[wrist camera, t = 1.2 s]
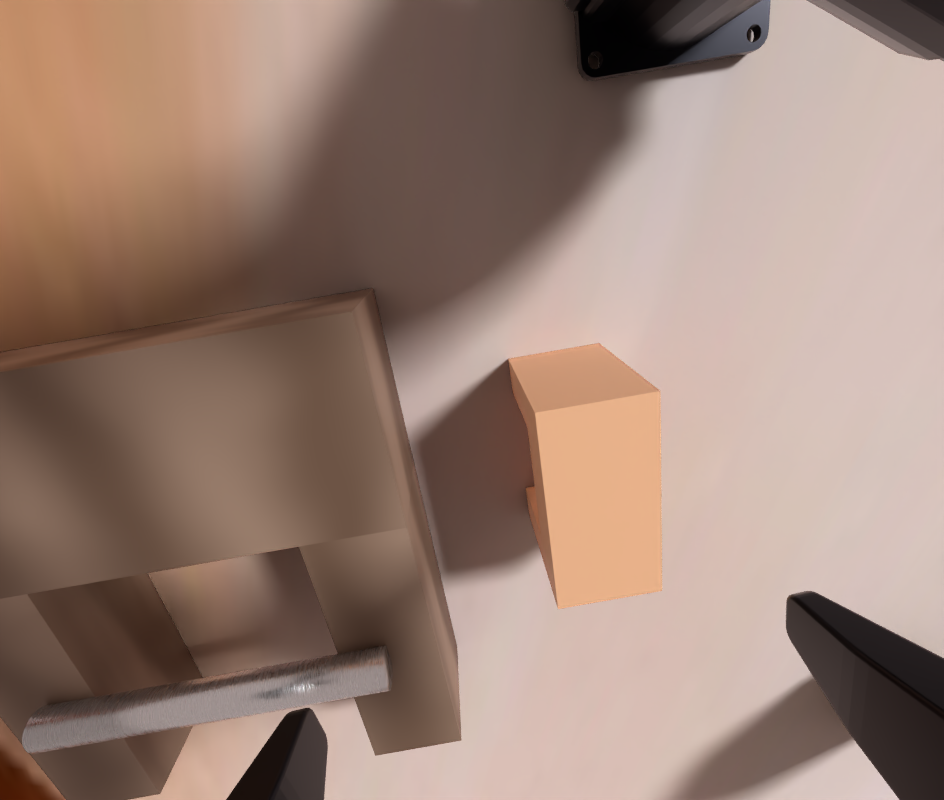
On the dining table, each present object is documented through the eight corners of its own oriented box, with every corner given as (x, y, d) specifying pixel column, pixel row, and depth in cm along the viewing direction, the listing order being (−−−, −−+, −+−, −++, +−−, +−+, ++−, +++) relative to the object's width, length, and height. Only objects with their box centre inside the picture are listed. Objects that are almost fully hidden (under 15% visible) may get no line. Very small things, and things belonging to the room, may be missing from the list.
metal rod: (385, 636, 19) (381, 671, 18) (394, 663, 20) (390, 700, 18) (47, 696, 19) (14, 736, 18) (65, 722, 20) (35, 763, 18)
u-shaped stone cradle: (372, 288, 19) (351, 311, 14) (457, 647, 26) (461, 740, 22) (-73, 364, 19) (-242, 414, 14) (138, 703, 26) (73, 809, 21)
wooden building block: (599, 342, 20) (660, 391, 15) (608, 501, 23) (661, 590, 18) (508, 359, 20) (535, 412, 15) (529, 515, 23) (558, 609, 18)
